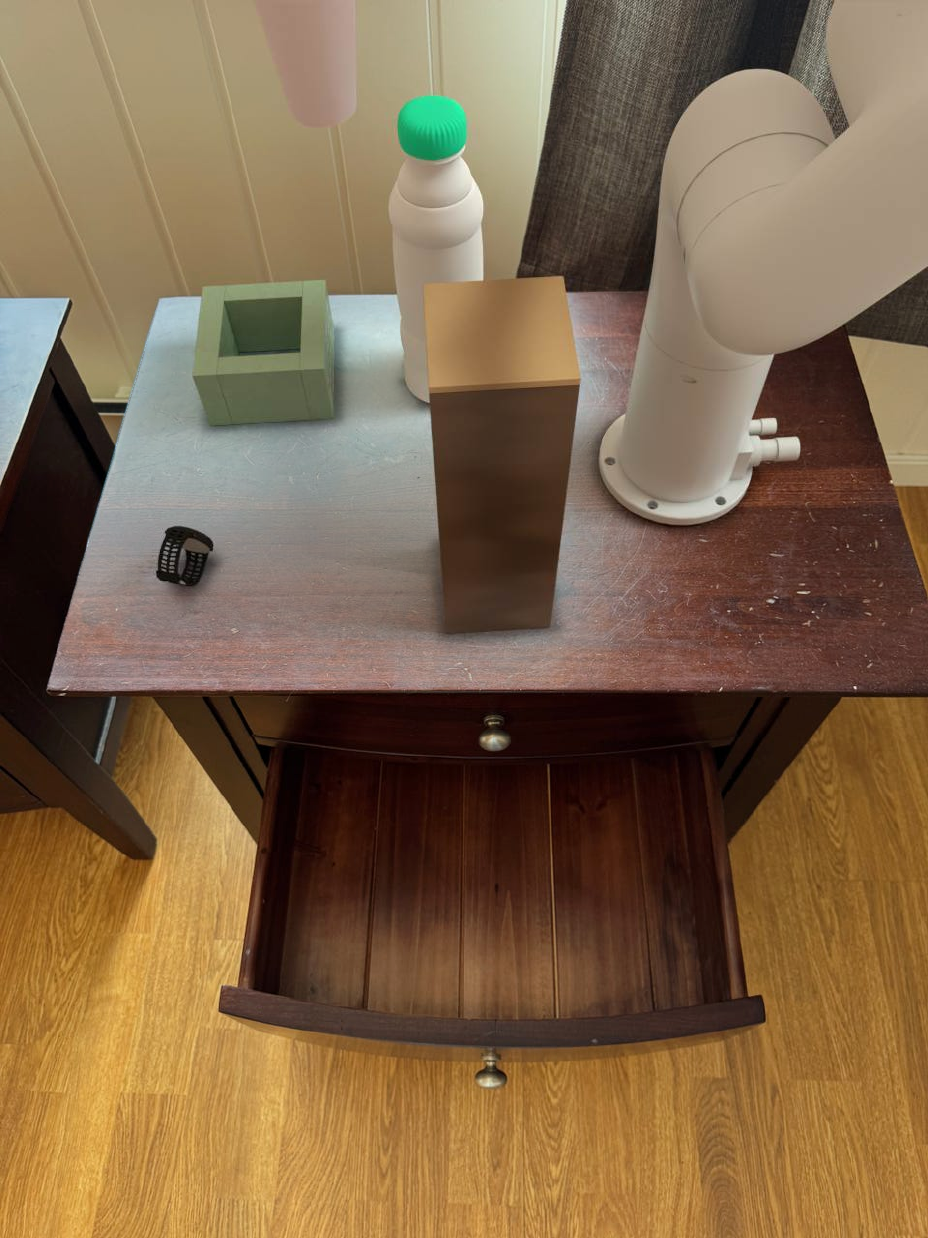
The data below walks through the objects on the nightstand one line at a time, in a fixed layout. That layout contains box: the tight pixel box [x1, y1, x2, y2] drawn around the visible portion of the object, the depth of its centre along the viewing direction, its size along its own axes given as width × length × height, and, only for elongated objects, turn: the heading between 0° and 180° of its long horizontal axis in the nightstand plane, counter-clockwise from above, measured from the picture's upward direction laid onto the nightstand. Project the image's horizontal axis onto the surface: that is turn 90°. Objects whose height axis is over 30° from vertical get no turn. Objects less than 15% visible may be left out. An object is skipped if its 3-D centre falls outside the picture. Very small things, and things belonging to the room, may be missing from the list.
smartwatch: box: [155, 525, 215, 588], centre depth 73 cm, size 4×5×5 cm
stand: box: [192, 279, 335, 427], centre depth 83 cm, size 11×11×6 cm
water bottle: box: [387, 94, 484, 404], centre depth 75 cm, size 7×7×25 cm
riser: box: [423, 275, 582, 634], centre depth 63 cm, size 8×8×26 cm
